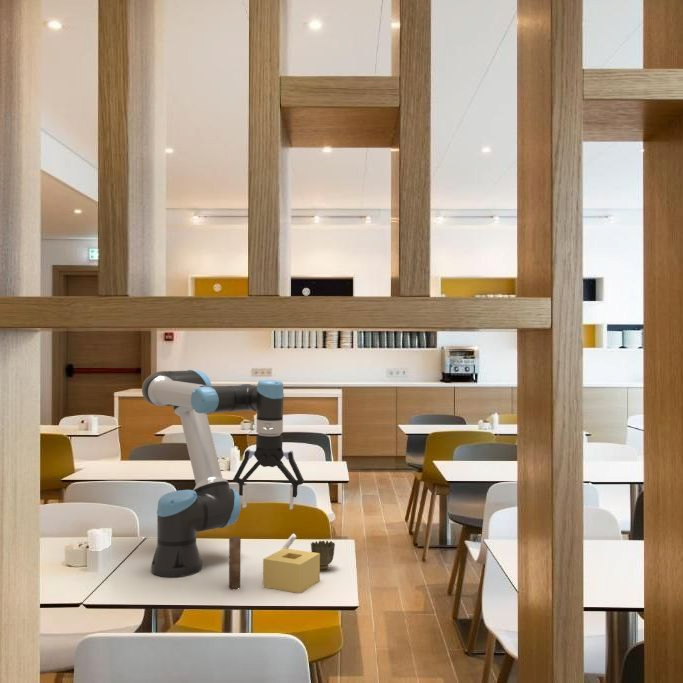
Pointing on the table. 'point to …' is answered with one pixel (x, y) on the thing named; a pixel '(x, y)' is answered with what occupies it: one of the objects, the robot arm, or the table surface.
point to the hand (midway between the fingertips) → (267, 507)
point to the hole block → (291, 570)
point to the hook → (289, 541)
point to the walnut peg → (234, 562)
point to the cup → (324, 552)
